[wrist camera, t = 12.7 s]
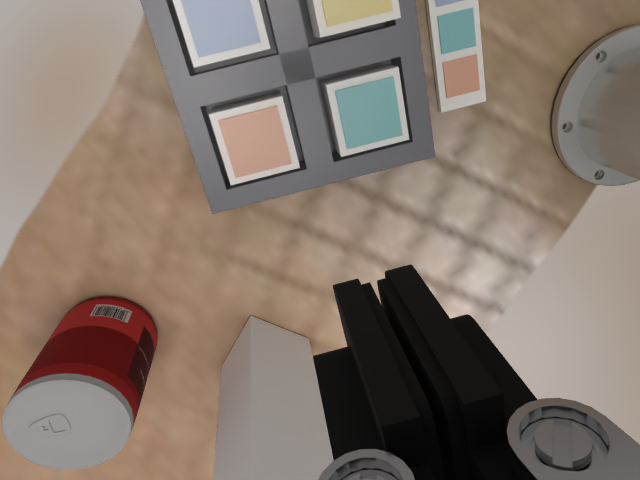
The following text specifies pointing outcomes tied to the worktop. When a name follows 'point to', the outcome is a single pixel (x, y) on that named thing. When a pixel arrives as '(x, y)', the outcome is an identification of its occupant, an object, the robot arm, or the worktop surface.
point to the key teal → (365, 109)
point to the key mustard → (349, 14)
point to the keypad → (292, 95)
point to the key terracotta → (254, 137)
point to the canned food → (83, 386)
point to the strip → (456, 52)
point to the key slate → (221, 29)
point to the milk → (270, 409)
